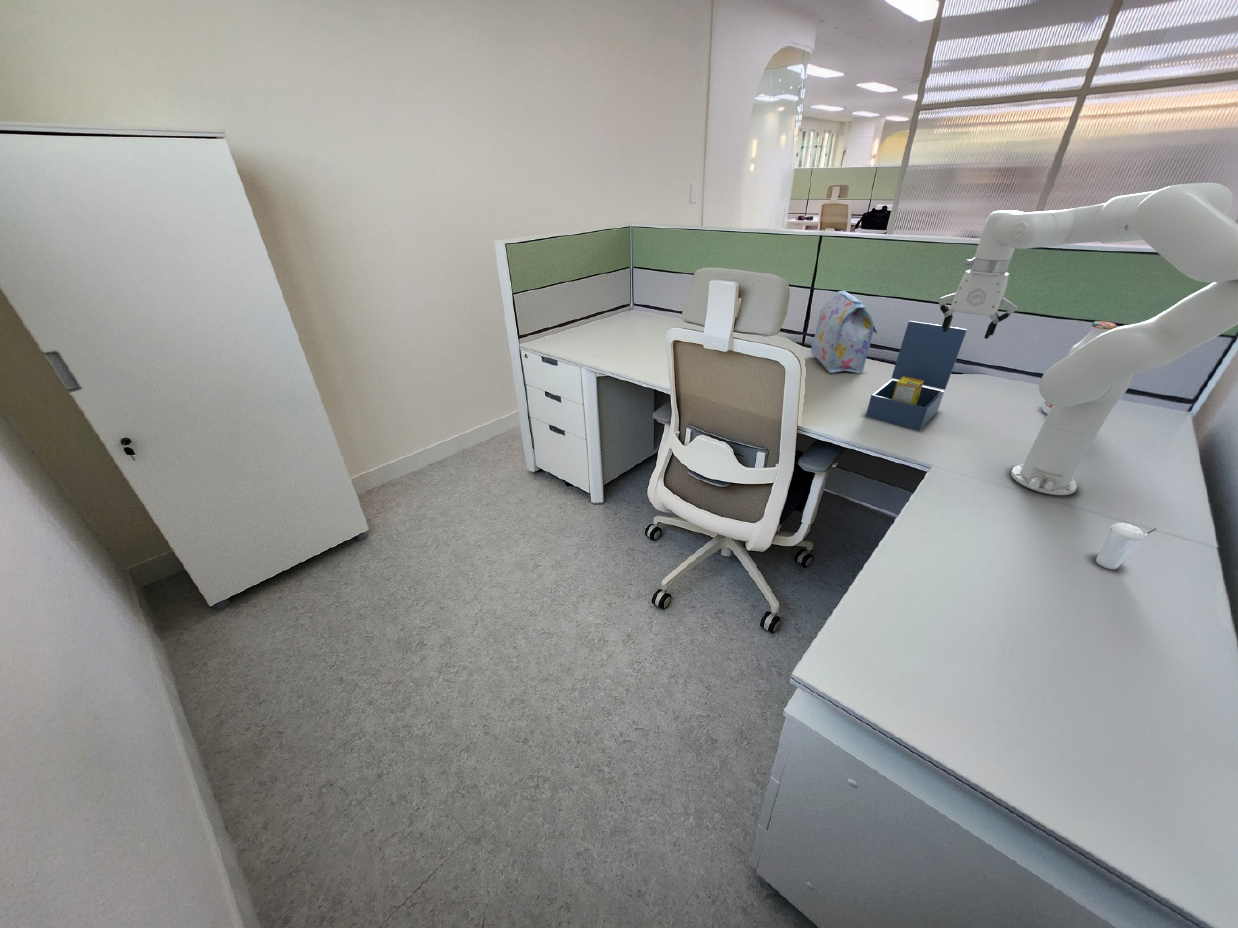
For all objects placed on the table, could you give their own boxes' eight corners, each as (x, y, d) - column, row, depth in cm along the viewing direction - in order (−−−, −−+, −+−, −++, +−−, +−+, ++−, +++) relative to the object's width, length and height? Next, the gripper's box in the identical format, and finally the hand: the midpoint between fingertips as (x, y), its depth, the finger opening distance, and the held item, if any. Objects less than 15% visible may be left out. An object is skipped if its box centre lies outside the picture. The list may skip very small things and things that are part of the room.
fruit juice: (1033, 408, 153) (1074, 320, 138) (1059, 406, 154) (1103, 318, 139) (1060, 421, 145) (1106, 328, 130) (1088, 418, 146) (1137, 326, 131)
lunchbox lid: (966, 329, 139) (970, 327, 143) (908, 321, 149) (913, 318, 152) (944, 389, 148) (949, 386, 152) (891, 378, 158) (896, 374, 161)
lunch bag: (871, 374, 182) (889, 302, 168) (826, 375, 182) (841, 303, 169) (847, 355, 201) (862, 289, 187) (807, 355, 202) (819, 290, 188)
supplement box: (914, 413, 151) (924, 380, 145) (908, 419, 147) (918, 386, 141) (893, 408, 154) (903, 375, 148) (887, 414, 150) (897, 381, 145)
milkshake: (1130, 576, 90) (1159, 535, 85) (1093, 566, 93) (1119, 526, 88) (1124, 562, 94) (1152, 521, 88) (1089, 553, 96) (1114, 513, 91)
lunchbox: (919, 431, 142) (927, 408, 138) (865, 416, 151) (871, 395, 148) (937, 412, 152) (944, 390, 149) (885, 399, 162) (891, 379, 158)
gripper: (946, 265, 123) (925, 331, 132) (1029, 272, 112) (1001, 343, 121) (954, 261, 127) (934, 325, 136) (1034, 267, 117) (1007, 337, 126)
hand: (965, 334), depth 129 cm, fingers open, 9 cm apart
